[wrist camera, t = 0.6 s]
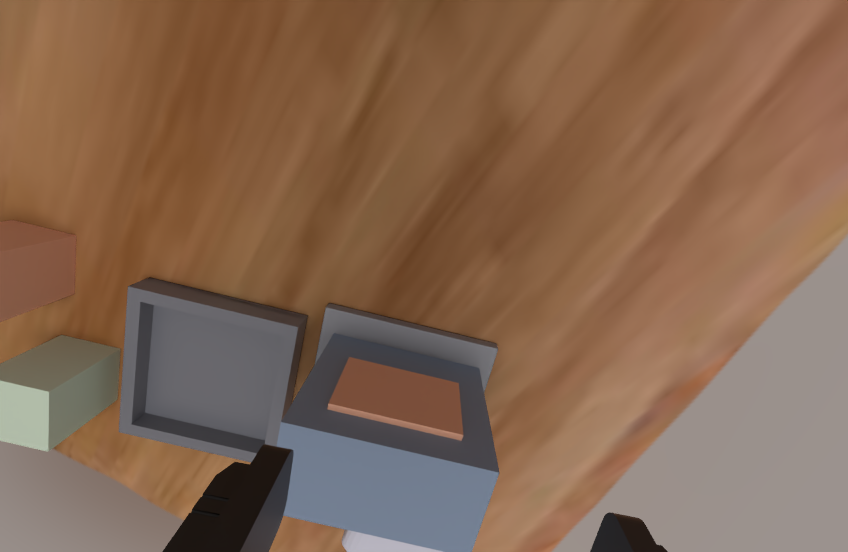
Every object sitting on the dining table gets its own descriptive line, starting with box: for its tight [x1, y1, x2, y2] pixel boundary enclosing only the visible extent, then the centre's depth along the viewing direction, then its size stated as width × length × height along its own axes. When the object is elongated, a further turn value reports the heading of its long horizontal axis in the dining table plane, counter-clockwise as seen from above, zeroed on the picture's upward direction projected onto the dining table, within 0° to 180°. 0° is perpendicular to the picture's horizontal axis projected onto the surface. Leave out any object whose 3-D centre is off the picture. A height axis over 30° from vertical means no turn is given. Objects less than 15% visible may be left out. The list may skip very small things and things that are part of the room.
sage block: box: [0, 335, 120, 451], centre depth 34 cm, size 5×5×7 cm
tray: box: [119, 277, 308, 462], centre depth 36 cm, size 13×13×2 cm
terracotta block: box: [0, 220, 76, 322], centre depth 31 cm, size 5×5×7 cm
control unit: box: [277, 303, 499, 552], centre depth 30 cm, size 10×14×13 cm
